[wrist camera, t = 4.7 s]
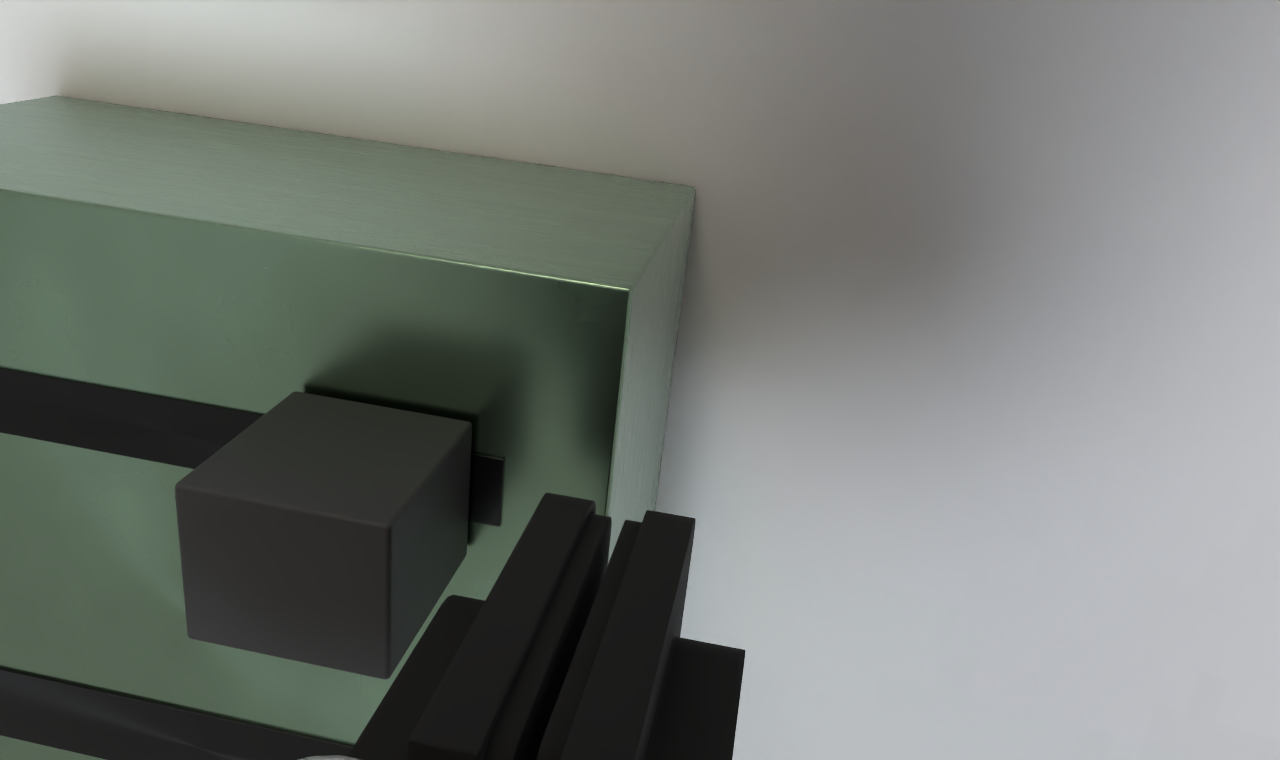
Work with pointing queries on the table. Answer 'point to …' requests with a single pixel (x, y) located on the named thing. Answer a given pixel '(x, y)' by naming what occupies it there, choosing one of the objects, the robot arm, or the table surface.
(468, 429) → the slider
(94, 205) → the toaster
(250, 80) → the table surface
